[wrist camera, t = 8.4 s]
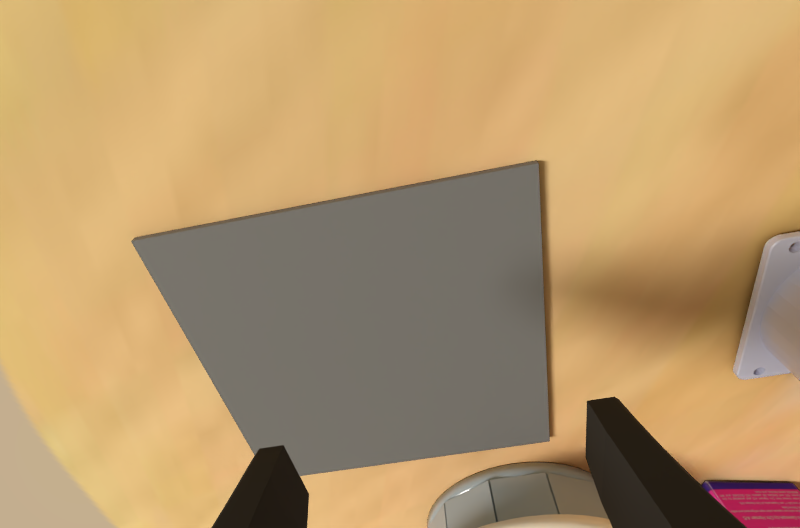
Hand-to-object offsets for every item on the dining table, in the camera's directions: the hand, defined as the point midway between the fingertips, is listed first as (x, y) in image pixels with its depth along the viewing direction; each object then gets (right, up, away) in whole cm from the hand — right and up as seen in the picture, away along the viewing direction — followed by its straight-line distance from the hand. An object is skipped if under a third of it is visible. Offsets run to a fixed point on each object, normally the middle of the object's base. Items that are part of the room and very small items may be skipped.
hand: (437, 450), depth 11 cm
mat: (-2, 0, +11) cm, 11 cm away
